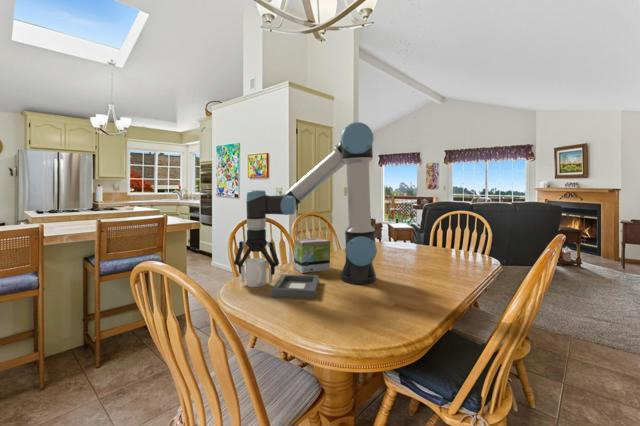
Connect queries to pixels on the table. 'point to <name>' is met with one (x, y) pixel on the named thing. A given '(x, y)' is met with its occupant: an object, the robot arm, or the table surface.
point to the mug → (256, 272)
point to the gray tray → (296, 286)
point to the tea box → (311, 255)
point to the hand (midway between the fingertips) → (256, 282)
